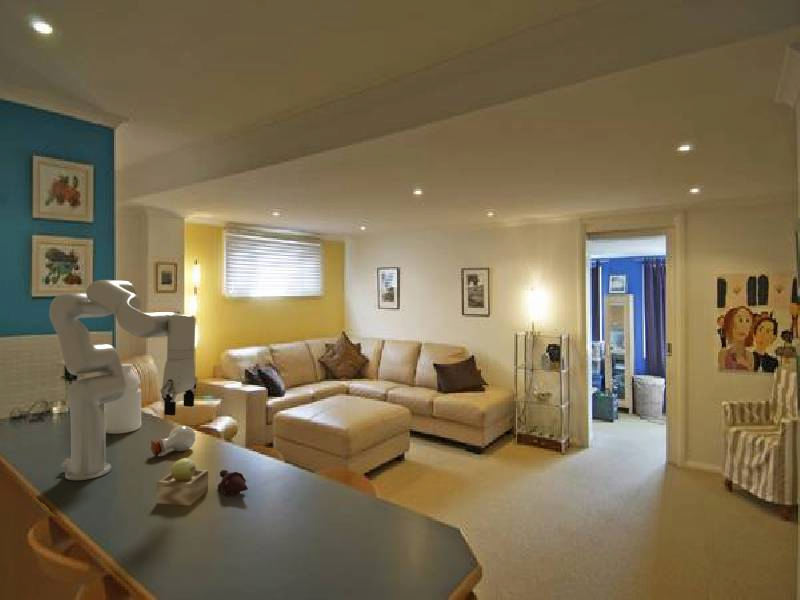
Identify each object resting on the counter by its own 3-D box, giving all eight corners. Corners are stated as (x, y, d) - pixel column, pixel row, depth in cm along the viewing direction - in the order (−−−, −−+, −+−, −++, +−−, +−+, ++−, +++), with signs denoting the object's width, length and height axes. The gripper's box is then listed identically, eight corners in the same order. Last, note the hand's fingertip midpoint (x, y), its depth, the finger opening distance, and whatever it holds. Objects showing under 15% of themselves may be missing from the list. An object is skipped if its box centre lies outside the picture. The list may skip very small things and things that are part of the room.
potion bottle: (197, 450, 178) (158, 466, 166) (185, 432, 182) (146, 446, 170) (203, 435, 174) (163, 450, 162) (190, 416, 178) (150, 430, 166)
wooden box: (157, 503, 131) (157, 481, 131) (177, 488, 141) (177, 468, 141) (190, 505, 131) (190, 483, 130) (208, 490, 141) (208, 470, 140)
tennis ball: (190, 461, 133) (196, 452, 139) (165, 465, 132) (173, 457, 138) (193, 482, 133) (199, 473, 140) (169, 487, 132) (176, 477, 139)
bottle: (128, 434, 191) (129, 367, 190) (96, 433, 191) (96, 367, 191) (147, 424, 205) (148, 362, 204) (117, 424, 205) (117, 361, 205)
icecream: (260, 475, 137) (232, 467, 146) (238, 476, 131) (211, 467, 141) (256, 500, 135) (228, 490, 145) (233, 502, 130) (206, 491, 139)
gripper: (185, 350, 148) (184, 402, 148) (150, 358, 131) (149, 417, 131) (207, 351, 147) (206, 404, 148) (175, 359, 130) (174, 419, 130)
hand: (179, 410), depth 139 cm, fingers open, 9 cm apart
